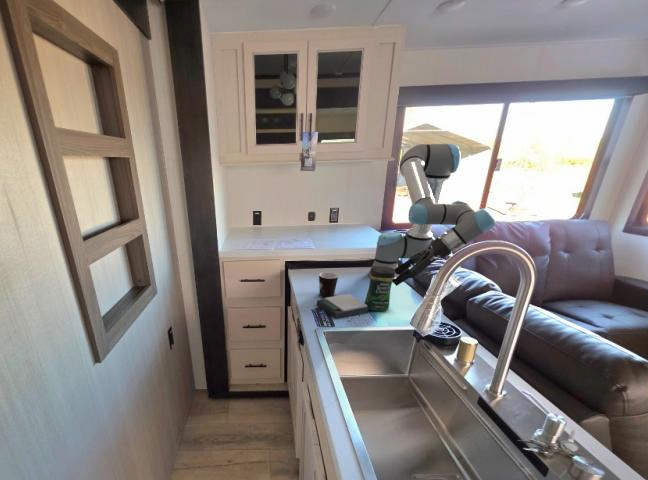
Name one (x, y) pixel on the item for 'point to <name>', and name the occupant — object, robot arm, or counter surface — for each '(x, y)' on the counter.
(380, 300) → the coffee jar
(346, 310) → the kitchen scale
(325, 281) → the coffee mug
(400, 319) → the counter surface
